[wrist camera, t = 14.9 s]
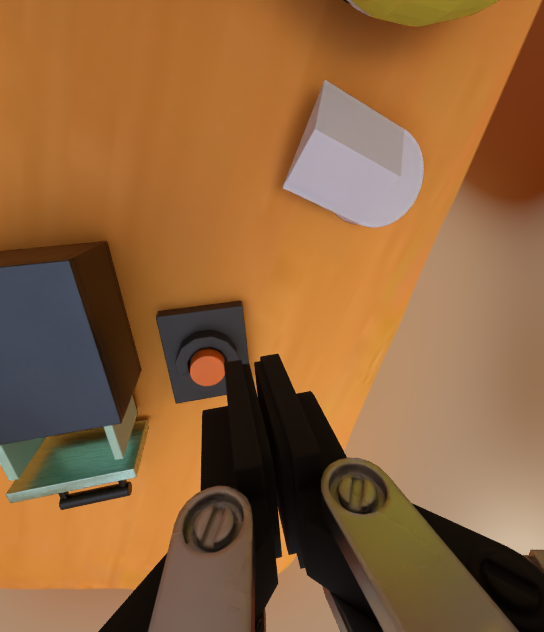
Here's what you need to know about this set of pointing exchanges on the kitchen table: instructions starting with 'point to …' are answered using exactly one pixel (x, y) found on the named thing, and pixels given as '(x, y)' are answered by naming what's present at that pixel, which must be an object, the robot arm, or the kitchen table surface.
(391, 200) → the wedge on round base
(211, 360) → the button
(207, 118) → the kitchen table surface
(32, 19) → the kitchen table surface
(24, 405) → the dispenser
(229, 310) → the control block
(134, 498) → the kitchen table surface
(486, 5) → the toy
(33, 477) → the tray
